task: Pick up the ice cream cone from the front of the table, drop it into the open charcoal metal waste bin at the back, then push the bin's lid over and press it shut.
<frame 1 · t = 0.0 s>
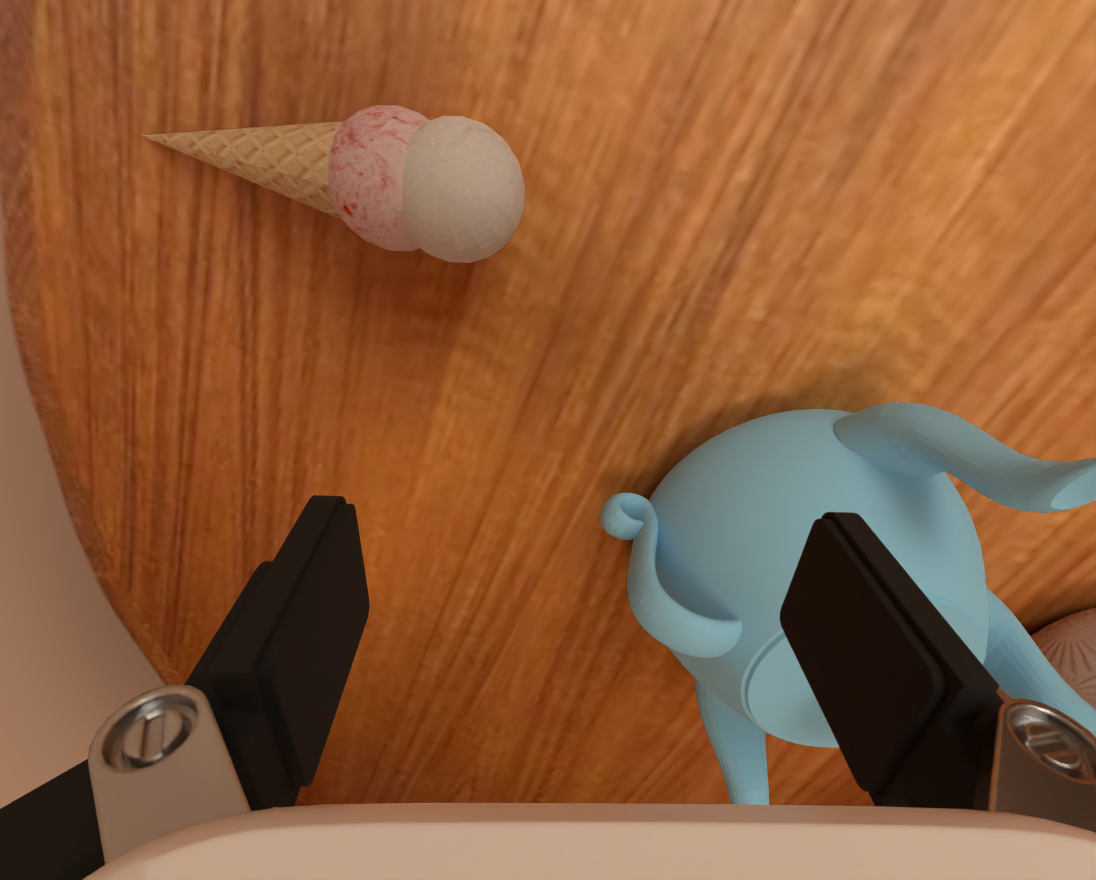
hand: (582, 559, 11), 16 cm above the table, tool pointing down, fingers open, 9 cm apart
planter: (1074, 650, 37), on the table
ice cream cone: (350, 182, 22), on the table
teapot: (780, 524, 31), on the table
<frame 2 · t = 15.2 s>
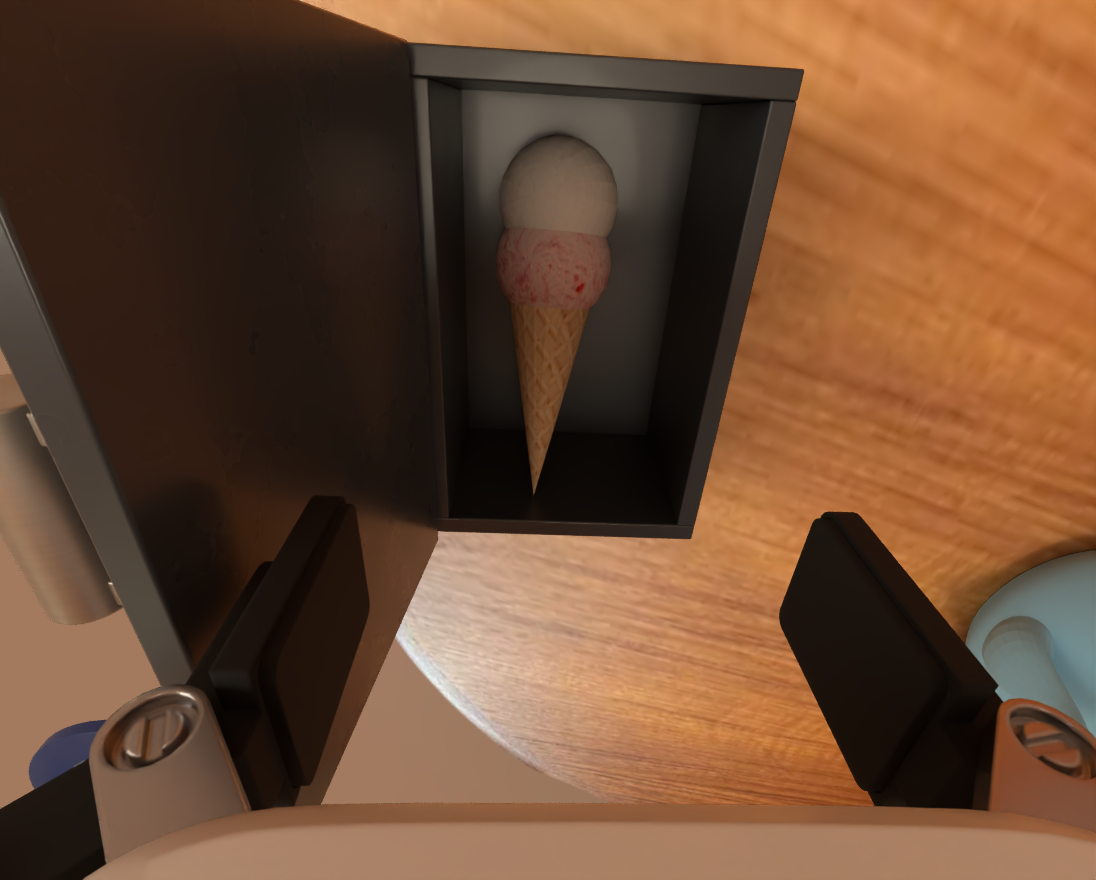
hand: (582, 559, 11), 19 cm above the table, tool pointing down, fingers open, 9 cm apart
ice cream cone: (556, 330, 25), point 3 cm above the table, touching bin
bin lid: (249, 424, 14), point 15 cm above the table, hinge at 97.7°
bin: (567, 284, 28), on the table
teapot: (1071, 605, 40), on the table
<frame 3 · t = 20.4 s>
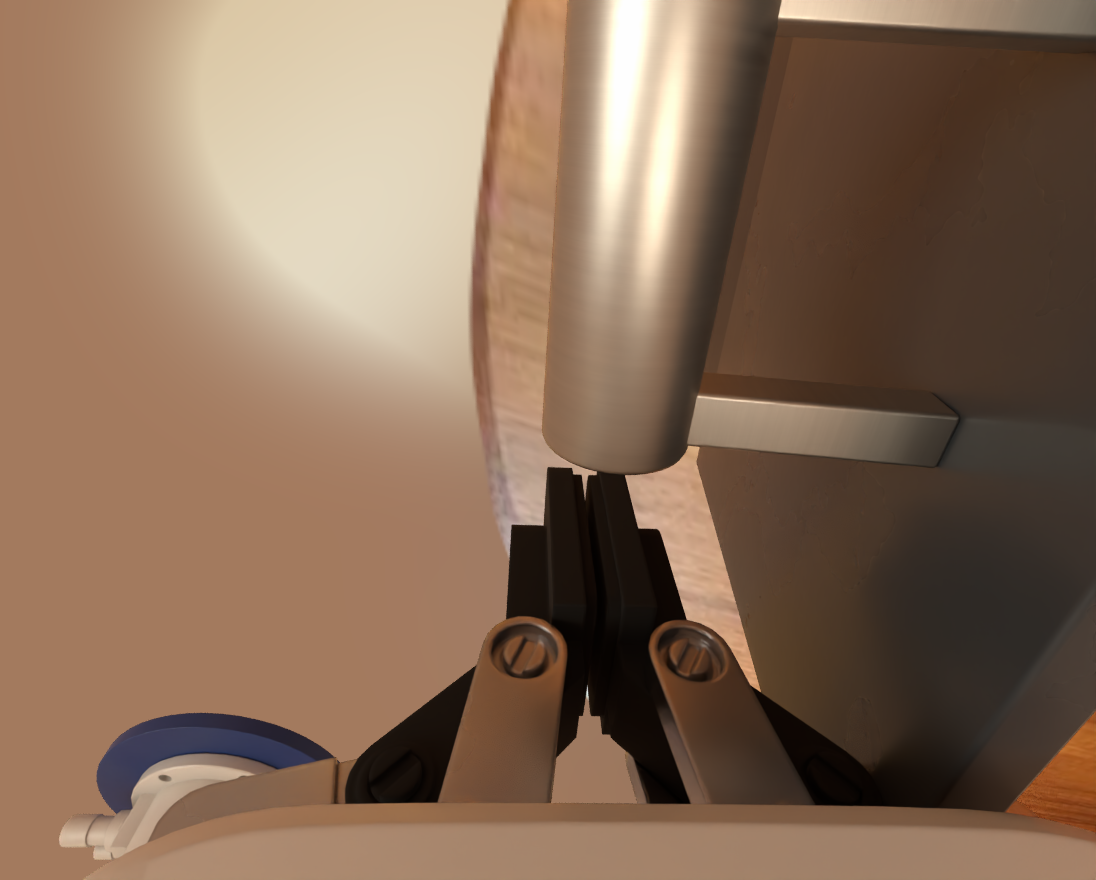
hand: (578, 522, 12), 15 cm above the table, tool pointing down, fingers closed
bin lid: (739, 196, 9), point 15 cm above the table, hinge at 96.1°, touching gripper
bin: (829, 165, 22), on the table
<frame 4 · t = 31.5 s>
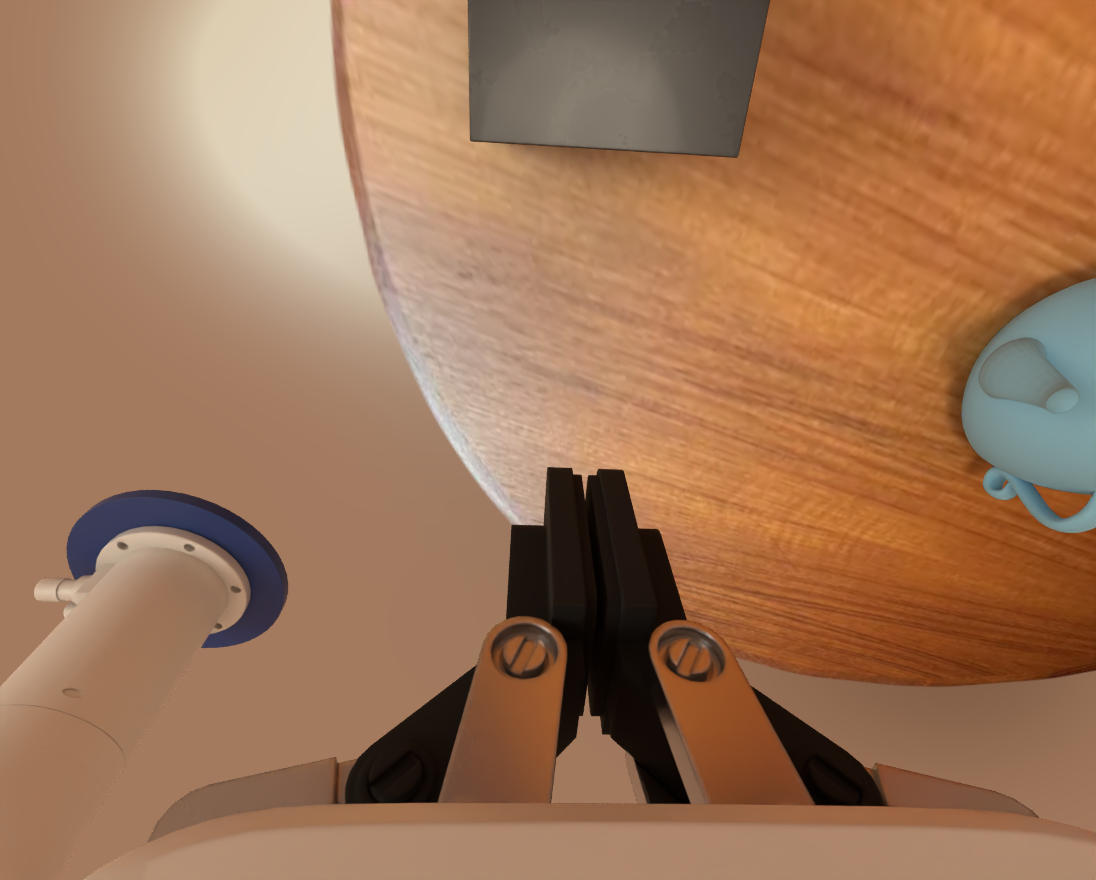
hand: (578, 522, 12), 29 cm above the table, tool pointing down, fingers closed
teapot: (1063, 358, 42), on the table
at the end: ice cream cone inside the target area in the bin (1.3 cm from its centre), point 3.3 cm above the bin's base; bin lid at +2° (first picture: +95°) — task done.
